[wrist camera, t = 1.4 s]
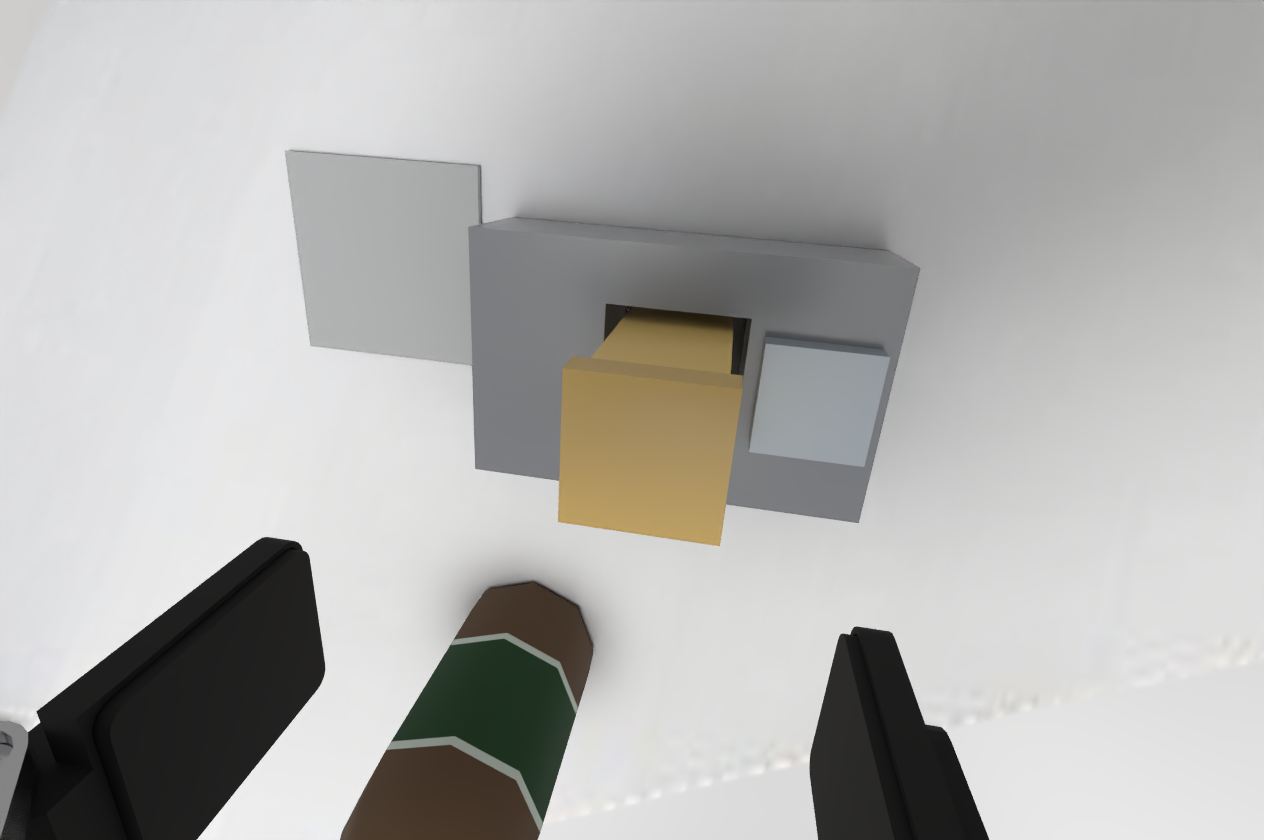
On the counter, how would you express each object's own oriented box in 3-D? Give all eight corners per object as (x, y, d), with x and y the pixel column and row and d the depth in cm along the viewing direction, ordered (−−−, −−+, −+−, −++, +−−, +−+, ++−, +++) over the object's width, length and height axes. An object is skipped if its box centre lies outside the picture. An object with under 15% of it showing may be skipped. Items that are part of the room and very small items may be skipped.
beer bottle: (467, 669, 38) (95, 1347, 16) (468, 564, 35) (14, 1222, 13) (591, 696, 37) (375, 1448, 15) (603, 591, 34) (357, 1340, 12)
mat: (480, 165, 27) (477, 166, 27) (484, 364, 30) (482, 366, 30) (289, 150, 28) (284, 150, 28) (314, 344, 32) (310, 345, 31)
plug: (742, 299, 27) (742, 389, 16) (728, 402, 29) (719, 546, 18) (634, 288, 28) (562, 368, 17) (627, 389, 30) (558, 521, 19)
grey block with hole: (888, 250, 26) (928, 272, 20) (840, 467, 29) (863, 536, 24) (513, 217, 28) (456, 229, 22) (514, 424, 31) (465, 479, 26)
